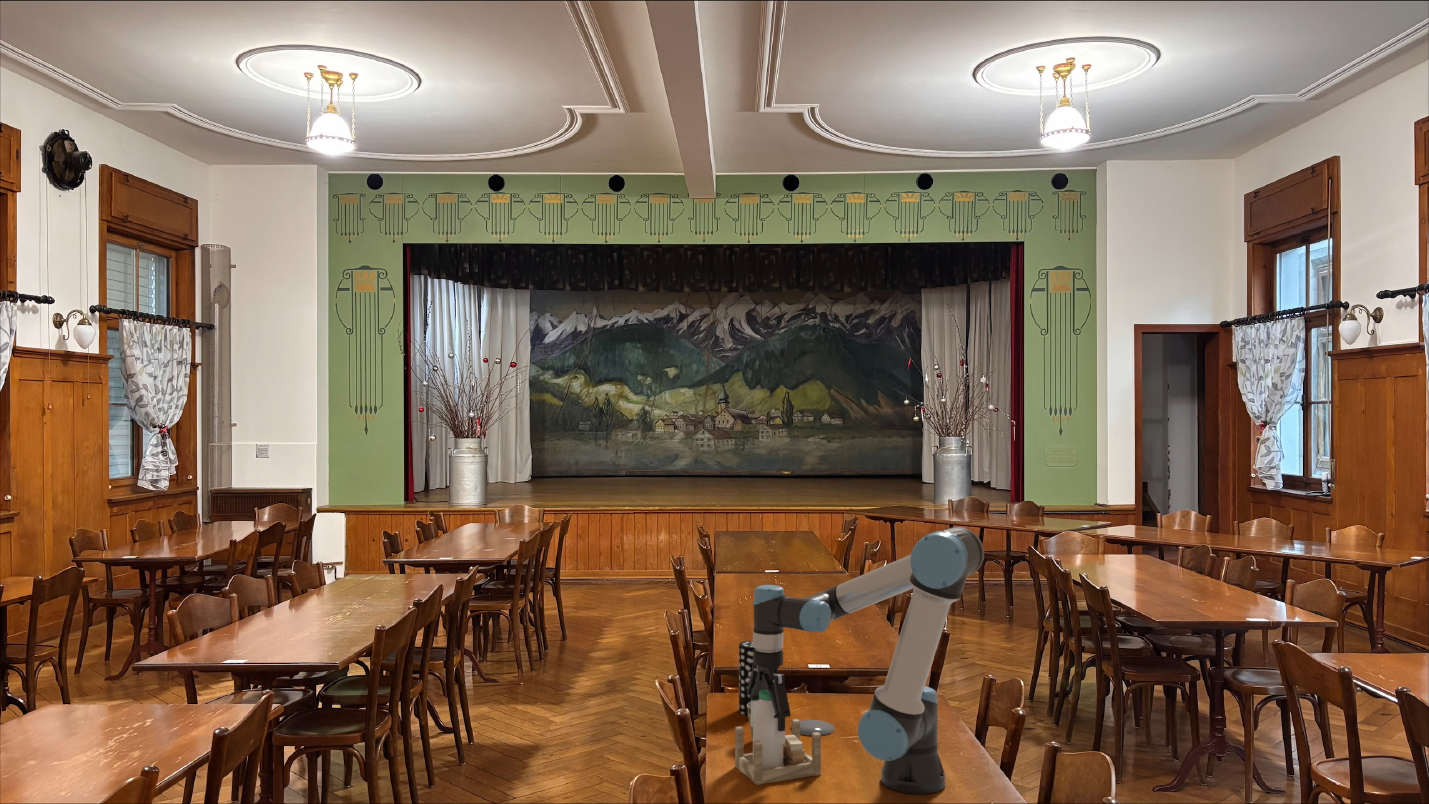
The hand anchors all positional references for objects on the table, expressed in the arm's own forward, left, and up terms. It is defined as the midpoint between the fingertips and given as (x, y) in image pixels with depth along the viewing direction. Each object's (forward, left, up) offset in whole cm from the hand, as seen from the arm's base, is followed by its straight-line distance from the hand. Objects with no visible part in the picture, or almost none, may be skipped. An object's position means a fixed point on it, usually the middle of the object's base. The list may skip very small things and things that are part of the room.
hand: (767, 734), depth 238 cm
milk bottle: (0, 0, -10) cm, 10 cm away
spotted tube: (+46, -17, -10) cm, 50 cm away
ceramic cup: (+19, -8, -10) cm, 22 cm away
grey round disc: (+25, -26, -9) cm, 37 cm away
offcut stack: (0, -7, -9) cm, 11 cm away
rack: (0, -3, -9) cm, 10 cm away
